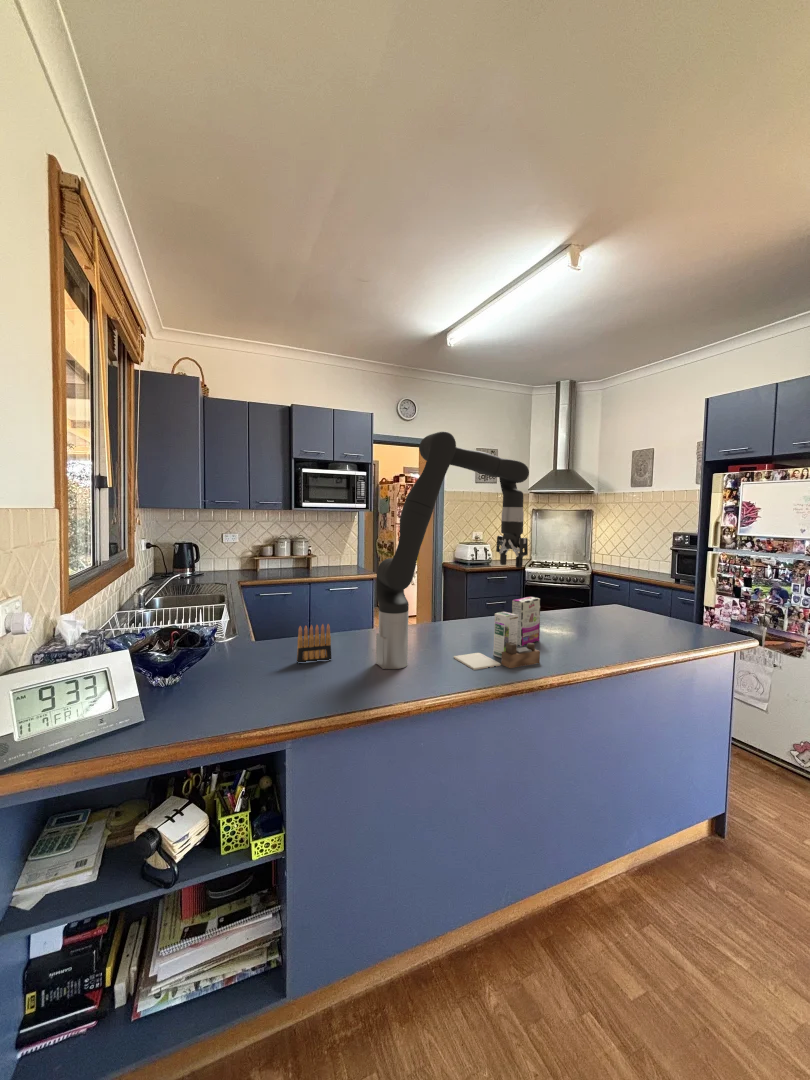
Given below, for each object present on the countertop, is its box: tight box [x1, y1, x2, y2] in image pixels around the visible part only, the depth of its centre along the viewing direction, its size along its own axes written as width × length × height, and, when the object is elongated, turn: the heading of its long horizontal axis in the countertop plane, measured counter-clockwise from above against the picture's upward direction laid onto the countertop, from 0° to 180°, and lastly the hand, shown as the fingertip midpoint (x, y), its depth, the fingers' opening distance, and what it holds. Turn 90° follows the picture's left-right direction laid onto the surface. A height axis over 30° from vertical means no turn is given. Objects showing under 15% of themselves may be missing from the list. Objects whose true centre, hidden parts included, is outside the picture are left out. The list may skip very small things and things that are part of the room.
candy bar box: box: [511, 596, 541, 647], centre depth 166 cm, size 11×5×16 cm, turn 129°
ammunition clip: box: [296, 623, 332, 662], centre depth 142 cm, size 11×2×12 cm, turn 111°
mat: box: [453, 652, 502, 671], centre depth 144 cm, size 10×12×1 cm
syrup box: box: [492, 611, 518, 659], centre depth 150 cm, size 6×6×14 cm
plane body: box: [500, 642, 541, 669], centre depth 143 cm, size 12×4×7 cm, turn 115°
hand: (510, 566), depth 158 cm, fingers open, 8 cm apart
